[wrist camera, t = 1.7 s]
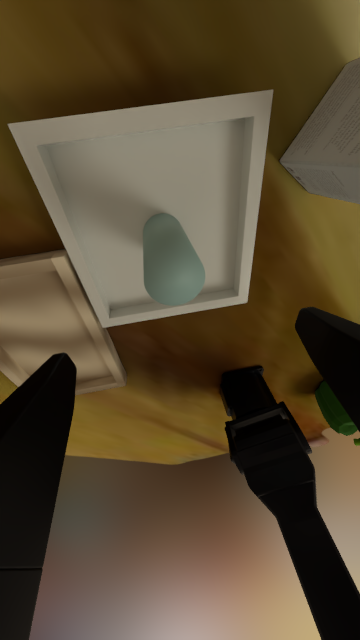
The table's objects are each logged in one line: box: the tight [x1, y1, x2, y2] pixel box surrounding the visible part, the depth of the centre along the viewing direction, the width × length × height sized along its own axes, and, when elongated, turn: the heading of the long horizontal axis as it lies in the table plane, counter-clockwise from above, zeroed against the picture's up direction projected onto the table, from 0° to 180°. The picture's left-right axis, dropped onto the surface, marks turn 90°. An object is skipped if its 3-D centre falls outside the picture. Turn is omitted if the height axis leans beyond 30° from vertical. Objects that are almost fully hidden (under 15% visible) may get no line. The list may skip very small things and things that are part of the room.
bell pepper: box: [315, 381, 360, 445], centre depth 36 cm, size 8×8×10 cm
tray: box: [0, 249, 127, 395], centre depth 22 cm, size 18×12×2 cm, turn 6°
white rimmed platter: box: [8, 90, 273, 328], centre depth 17 cm, size 15×15×2 cm
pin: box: [143, 213, 205, 306], centre depth 14 cm, size 3×3×8 cm
